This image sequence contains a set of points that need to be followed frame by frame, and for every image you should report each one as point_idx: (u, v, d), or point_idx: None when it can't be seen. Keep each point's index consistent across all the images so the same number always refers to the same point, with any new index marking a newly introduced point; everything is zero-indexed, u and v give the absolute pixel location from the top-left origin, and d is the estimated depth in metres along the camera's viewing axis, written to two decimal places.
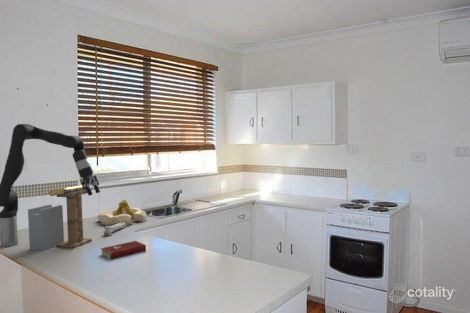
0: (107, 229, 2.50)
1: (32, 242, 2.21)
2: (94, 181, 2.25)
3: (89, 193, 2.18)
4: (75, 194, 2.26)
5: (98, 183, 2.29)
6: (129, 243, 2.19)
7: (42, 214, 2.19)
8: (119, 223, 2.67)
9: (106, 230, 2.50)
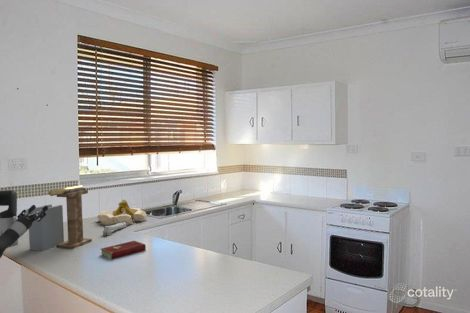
0: (106, 229, 2.50)
1: (32, 242, 2.21)
2: None
3: None
4: (75, 194, 2.26)
5: None
6: (128, 243, 2.19)
7: None
8: (119, 223, 2.67)
9: (105, 230, 2.50)
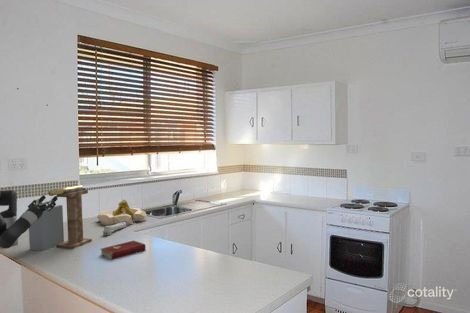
0: (106, 229, 2.50)
1: (32, 242, 2.21)
2: (46, 207, 2.09)
3: None
4: (75, 194, 2.26)
5: (54, 205, 2.09)
6: (128, 243, 2.20)
7: (42, 214, 2.19)
8: (119, 223, 2.67)
9: (105, 230, 2.50)
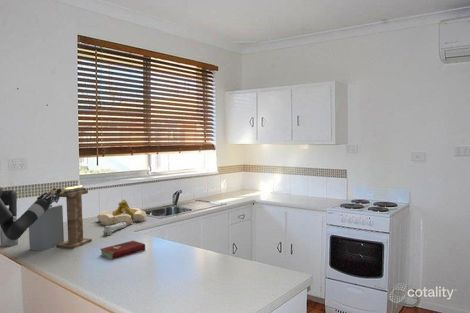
0: (107, 229, 2.50)
1: (32, 242, 2.21)
2: None
3: None
4: (75, 194, 2.26)
5: None
6: (127, 243, 2.20)
7: None
8: (119, 223, 2.67)
9: (105, 230, 2.50)
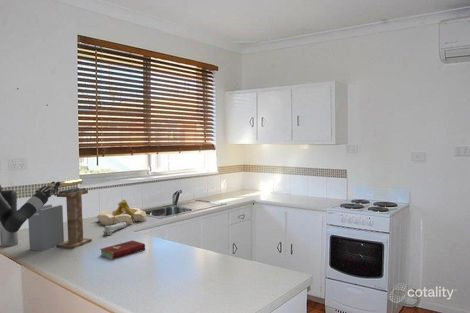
0: (107, 229, 2.50)
1: (32, 242, 2.21)
2: None
3: None
4: (75, 194, 2.26)
5: None
6: (127, 243, 2.20)
7: (42, 214, 2.19)
8: (120, 223, 2.67)
9: (106, 230, 2.50)
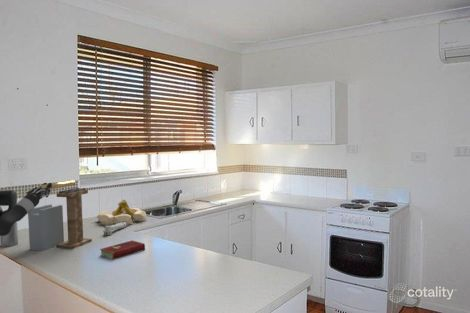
0: (107, 229, 2.51)
1: (32, 242, 2.21)
2: None
3: None
4: (75, 194, 2.26)
5: None
6: (127, 243, 2.20)
7: (42, 214, 2.19)
8: (120, 223, 2.68)
9: (106, 230, 2.50)
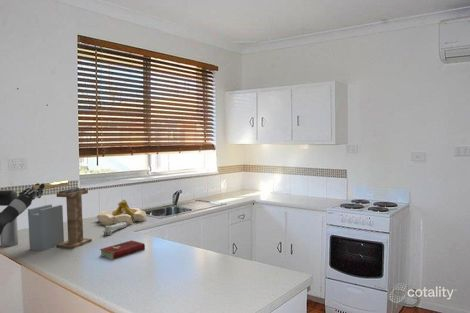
0: (107, 229, 2.51)
1: (32, 242, 2.21)
2: None
3: None
4: (75, 194, 2.26)
5: (41, 192, 2.07)
6: (127, 243, 2.20)
7: (42, 214, 2.19)
8: (120, 223, 2.68)
9: (106, 230, 2.50)
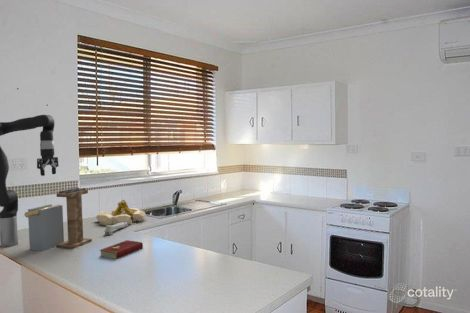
0: (108, 228, 2.52)
1: (32, 242, 2.21)
2: (52, 163, 2.33)
3: (41, 174, 2.27)
4: (75, 194, 2.26)
5: (57, 165, 2.37)
6: (124, 242, 2.20)
7: (42, 214, 2.19)
8: (121, 222, 2.69)
9: (107, 229, 2.51)
